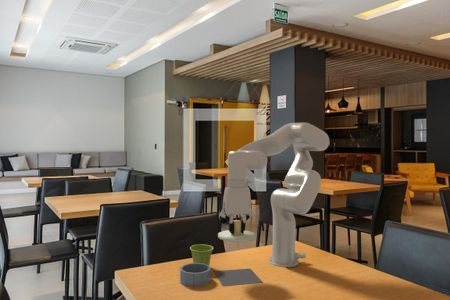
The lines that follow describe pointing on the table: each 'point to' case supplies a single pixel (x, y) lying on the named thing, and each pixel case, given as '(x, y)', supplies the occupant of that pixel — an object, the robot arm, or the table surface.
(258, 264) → the table surface
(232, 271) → the mat
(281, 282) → the table surface
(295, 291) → the table surface
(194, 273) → the bowl
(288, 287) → the table surface
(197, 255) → the plant pot
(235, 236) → the lid
